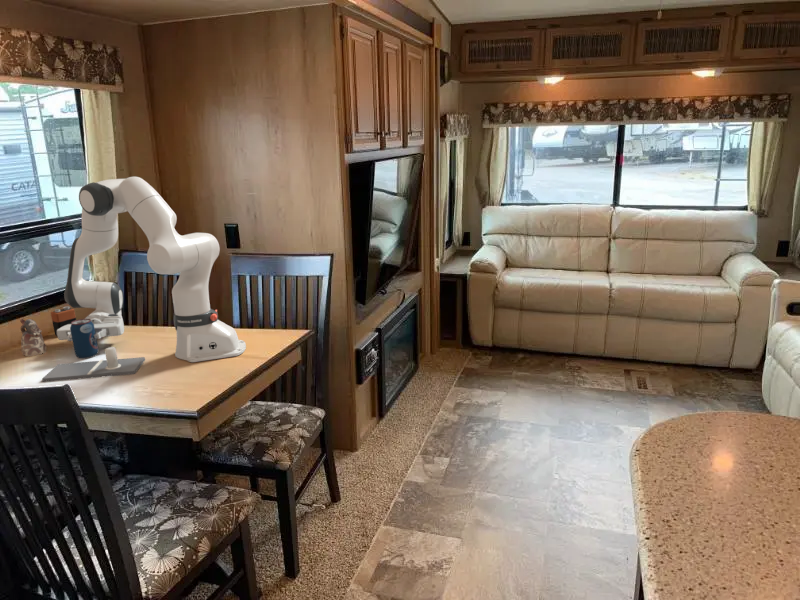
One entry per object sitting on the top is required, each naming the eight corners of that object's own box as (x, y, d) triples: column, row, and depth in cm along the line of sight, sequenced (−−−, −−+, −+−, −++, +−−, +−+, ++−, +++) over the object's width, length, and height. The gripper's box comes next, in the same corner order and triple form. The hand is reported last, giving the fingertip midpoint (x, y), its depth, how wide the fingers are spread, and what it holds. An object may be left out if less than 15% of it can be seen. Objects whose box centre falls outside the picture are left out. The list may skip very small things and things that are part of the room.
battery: (79, 332, 221) (74, 306, 218) (61, 337, 215) (56, 311, 213) (72, 330, 223) (67, 305, 221) (54, 335, 218) (49, 309, 215)
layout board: (145, 359, 189) (141, 339, 187) (134, 373, 178) (131, 352, 176) (58, 367, 186) (54, 346, 184) (42, 381, 174) (38, 359, 172)
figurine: (35, 356, 196) (28, 322, 193) (17, 355, 197) (10, 321, 194) (51, 349, 202) (45, 316, 199) (34, 348, 204) (27, 315, 201)
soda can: (99, 356, 194) (93, 321, 190) (76, 360, 190) (69, 325, 187) (98, 350, 199) (92, 316, 196) (75, 354, 196) (68, 320, 193)
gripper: (64, 318, 203) (47, 331, 190) (126, 314, 206) (114, 326, 193) (67, 336, 205) (51, 349, 192) (129, 331, 208) (117, 344, 195)
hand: (83, 337), depth 192 cm, fingers closed on soda can, 7 cm apart
